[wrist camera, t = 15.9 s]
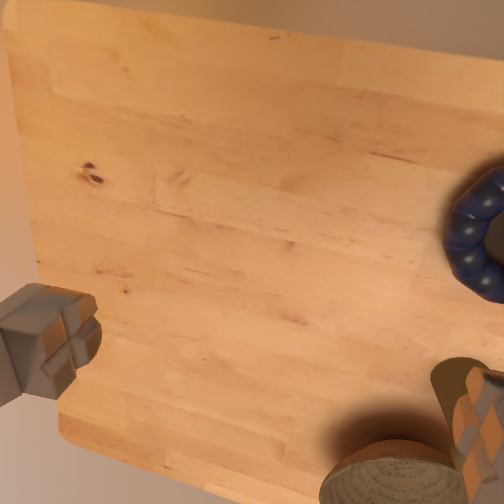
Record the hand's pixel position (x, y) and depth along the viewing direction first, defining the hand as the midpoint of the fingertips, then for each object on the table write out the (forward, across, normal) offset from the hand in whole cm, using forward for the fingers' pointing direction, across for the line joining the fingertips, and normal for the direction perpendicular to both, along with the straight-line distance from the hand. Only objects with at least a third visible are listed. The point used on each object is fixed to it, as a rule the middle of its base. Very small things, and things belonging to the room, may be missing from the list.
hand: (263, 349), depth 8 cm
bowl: (+29, -13, +39) cm, 50 cm away
